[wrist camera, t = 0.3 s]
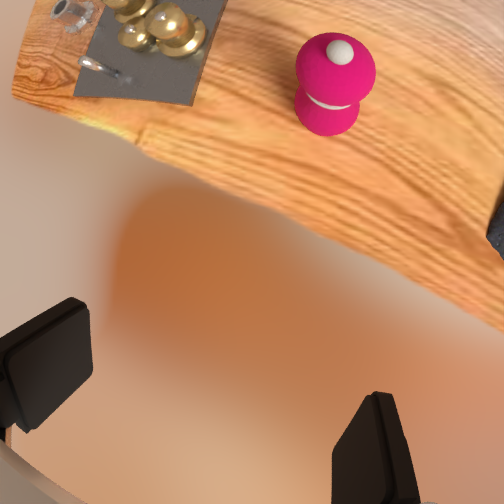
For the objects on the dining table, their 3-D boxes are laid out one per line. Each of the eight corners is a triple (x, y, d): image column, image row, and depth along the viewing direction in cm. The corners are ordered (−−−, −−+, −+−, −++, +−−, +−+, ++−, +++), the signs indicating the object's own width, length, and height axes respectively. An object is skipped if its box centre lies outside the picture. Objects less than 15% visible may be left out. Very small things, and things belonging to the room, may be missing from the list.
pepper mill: (290, 132, 35) (272, 84, 16) (301, 80, 33) (293, -5, 14) (347, 146, 34) (389, 113, 15) (357, 94, 32) (401, 21, 13)
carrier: (114, -3, 33) (86, -22, 25) (231, -10, 31) (215, -42, 22) (77, 97, 39) (41, 88, 30) (192, 106, 36) (163, 90, 28)
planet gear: (78, 7, 34) (55, -5, 28) (103, 1, 34) (81, -13, 27) (65, 37, 36) (40, 27, 30) (89, 32, 35) (65, 20, 29)
